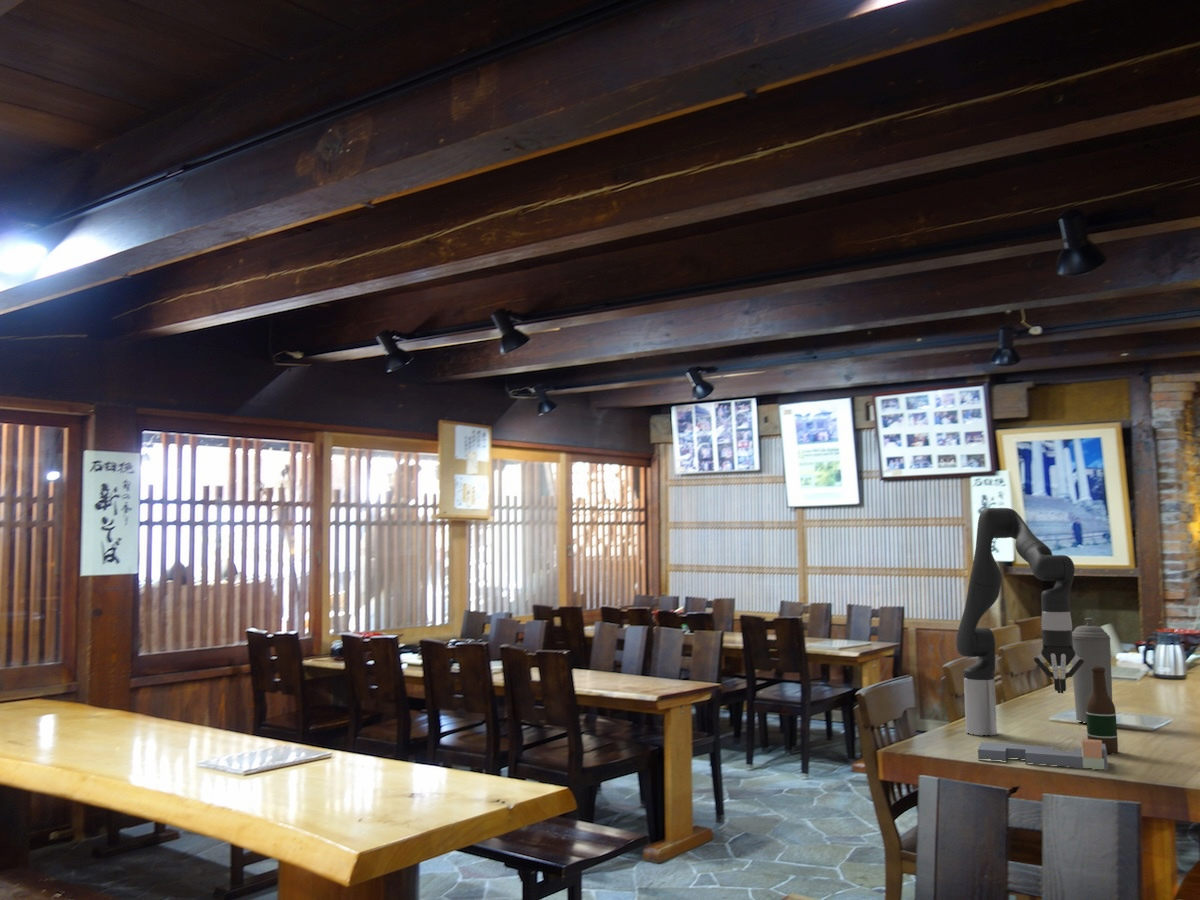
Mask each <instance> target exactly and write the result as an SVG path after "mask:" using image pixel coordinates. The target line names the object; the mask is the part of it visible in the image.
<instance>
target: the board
mask: <svg viewBox="0 0 1200 900" xmlns="http://www.w3.org/2000/svg"><path fill="white" fill-rule="evenodd" d="M1102 747H1103V757H1102V759H1100V758H1088V757H1083V748H1073V751H1069V750H1058V749H1057V750H1055V746H1045V745H1044V746H1043V745H1032V744H1030V745H1028V744H1016V743H1015V744H1014V743H1004V742H1003V743H1000V742H999V743H998V742H989V741H988V742H987V741H981V742H980V744H979V745H978V748H977V757H978V758H977V759H991V760H1002V761H1006V762H1007V760H1006V758H1018V759H1025V760H1026V761H1025V764H1026V763H1033V764H1046V765H1057V766H1069V767H1078V768H1077V769H1082V768H1092V769H1091V770H1095V769H1106V770H1105V771H1109V770H1108V769H1109V767H1108V766H1109V765H1108V754H1107V751H1106V746H1105V744H1102ZM1069 767H1068V768H1069Z"/></svg>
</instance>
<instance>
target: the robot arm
mask: <svg viewBox="0 0 1200 900" xmlns="http://www.w3.org/2000/svg"><path fill="white" fill-rule="evenodd" d="M976 529H977V530H976V540H975V549H974V550H975V551H974V556H973V562H972V568H971V573H970V574H969V575H970V576H969V582H968V588H967V592H966V594H967V595H966V600H965V604H964V605H965V606H964V609H963V612H962V616H961V620H960V623H959V626H958V630H957V633H956V642H955V643H956V646H955V647H956V650H957V653H958V654H959V655H960V656H962V657H966V658H967V657H968V658H970V657H971V658H973V657H974V658H975V657H976V658H977V661H976V662H975V663H974V664H972V665H970V666H967V667H965V668H964V669H963V691H964V712H965V714H964V716H965V719H964V720H965V733H966V732H967V733H966V734H968V733H969V735H973V734H974V735H973V736H983V735H986V736H987V735H990V736H996V735H997V734H998V728H997V725H998V724H997V707H996V706H997V704H996V703H997V702H996V689H995V688H996V685H995V682H996V681H995V671H996V640H995V639H996V638H995V636H994V633H993V631H992V629H991V628H989V627H977V626H978V624H979V622H980V620H981V619H982V617H983V616H984V615H985V614H986V612H988V610H989V609H990V608H991V607H993V605H994V604H995V603H996V601H997V599H998V597H999V596H1000V591H1001V587H1002V580H1003V576H1002V571H1001V569H1000V568H999V565H998V563H997V561H996V559H995V558H994V555H993V552H992V546H993V545H992V544H993V539H1009V538H1012V539H1014V540H1015V544H1014V545H1015V550H1016V551H1017V553H1018V555H1019V556H1020V557H1021V559H1023V560H1024V561H1025V562H1027V564H1028V565H1029V567H1030V570H1031V571H1032V573H1033V574H1032V575H1033V576H1034V577H1035V578H1036V579H1038V580H1040V581H1044V582H1046V581H1047V582H1052V581H1053V582H1054V581H1055V584H1054V586H1053V588H1049V589H1045V590H1043V591H1042V592H1041V593H1040V600H1041V623H1040V627H1041V637H1042V649H1041V651H1040V654H1038V655H1037V656H1035V657H1033V661H1034V662H1035V663H1036V665H1037V666H1038V667H1039V668H1040V669H1041V670H1042V672H1043V673H1044V674H1045V675H1046V676H1047V677H1050V678H1052V679H1053V683H1054V684H1053V685H1054V691H1055V692H1056V691H1057V694H1064V692H1066V691H1067V681H1066V680H1067V679H1068V678H1069V679H1070V678H1073V675H1074V673H1075V672H1076V671H1077V670H1078V669H1079V667H1080V666H1081V665H1082V664H1083V663H1084V660H1083V659H1082V658H1080V657H1078V656H1077V655H1075V651H1074V649H1073V638H1072V632H1073V623H1072V616H1071V609H1070V596H1071V595H1070V594H1071V590H1072V586H1073V585H1072V584H1073V581H1074V576H1075V573H1076V571H1075V564H1074V561H1073V559H1071V557H1070V556H1068V555H1064V554H1058V555H1057V554H1053V552H1052V550H1051V548H1050V547H1049V546H1048V545H1046V544H1045V543H1044V542H1043V541H1041V540H1040V539H1039V538H1038V537H1037V536H1035V534H1034V533H1033V532H1032V531H1031V529H1030V528H1029V527H1028V525H1027V524H1026V522H1025V521H1024V519H1023V518H1022V517H1021V516H1020V514H1019V513H1018V512H1017V511H1015V509H1012V508H1010V507H986V508H984V509H982V510H981V511H980V513H979V517H978V522H977V528H976ZM1073 658H1074V663H1075V665H1074V666H1073V667H1072V666H1071V668H1070V670H1068V672H1066V671H1067V669H1066V667H1067V666H1069V665H1070V663H1072V661H1071V660H1072V659H1073ZM1044 661H1046V662H1047V663H1048V664H1049V665H1050V666H1051V669H1052V671H1051V670H1049V668H1048V667H1047V666H1046V664H1045V662H1044ZM1059 666H1060V674H1059V670H1058V667H1059ZM987 737H988V736H987Z"/></svg>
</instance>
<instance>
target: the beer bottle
mask: <svg viewBox="0 0 1200 900" xmlns="http://www.w3.org/2000/svg"><path fill="white" fill-rule="evenodd" d="M1091 671H1092V694H1091V696H1090V698H1089V699H1088V701H1087V704H1086V720H1087V724H1086V734H1087V739H1092V740H1102V744H1105V746H1106V751H1107V753H1115V754H1118V752H1119V745H1118V744H1119V743H1118V742H1119V741H1118V729H1117V728H1118V726H1117V725H1118V724H1117V713H1116V707H1115V704H1114V702H1113V699H1112V700H1111V699H1110V698H1109V696H1108V693H1107V689H1106V681H1105V673H1104V672H1105V668H1104V667H1100V666H1094V667H1092V668H1091Z"/></svg>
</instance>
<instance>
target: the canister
mask: <svg viewBox="0 0 1200 900" xmlns="http://www.w3.org/2000/svg"><path fill="white" fill-rule="evenodd" d="M1084 620H1085V621H1086V624H1085V625H1079V626H1076V627H1075V628H1074V630H1072V638H1073V649H1074V651H1075V655H1077V656H1078V657H1080V658H1082V659H1083V660H1084V663H1083V664H1082V665H1081V666H1080V667H1079V669H1078V670H1077V671H1076V672H1075V673H1074V675H1073V676H1072V681H1073V683H1072V684H1073V692H1074V693H1073V694H1074V706H1075V715H1076V721H1077V720H1079V721H1081V722H1085V723H1087V720H1086V704H1087V701H1088V699H1089V698H1090V696H1091V694H1092V671H1091V668H1092V667H1094V666H1100V667H1104V668H1105V672H1104V673H1105V681H1106V689H1107V693H1108V696H1109V698H1110V699H1111V700H1112V701H1113V686H1112V685H1113V683H1112V682H1113V681H1112V679H1113V678H1112V658H1111V657H1112V656H1111V655H1112V654H1111V653H1112V652H1111V636H1110V635H1109V634H1108V633H1107V632H1106V631H1105V630H1104V629H1103V628H1102V627H1101V626H1098V625H1092V623H1091V622H1092V621H1093V618H1092V617H1086V618H1084ZM1074 665H1075V663H1074V658H1073V659H1072V660H1071V668H1072V667H1073V666H1074Z"/></svg>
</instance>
